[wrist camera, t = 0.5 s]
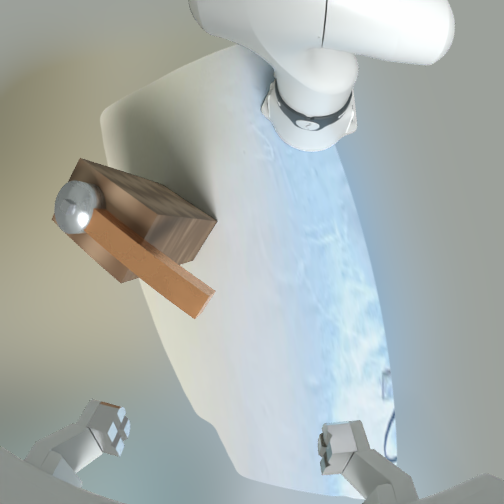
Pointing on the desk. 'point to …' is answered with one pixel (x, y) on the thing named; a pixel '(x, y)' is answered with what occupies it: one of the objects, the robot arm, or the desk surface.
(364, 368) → the desk surface
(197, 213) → the pedestal
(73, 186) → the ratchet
